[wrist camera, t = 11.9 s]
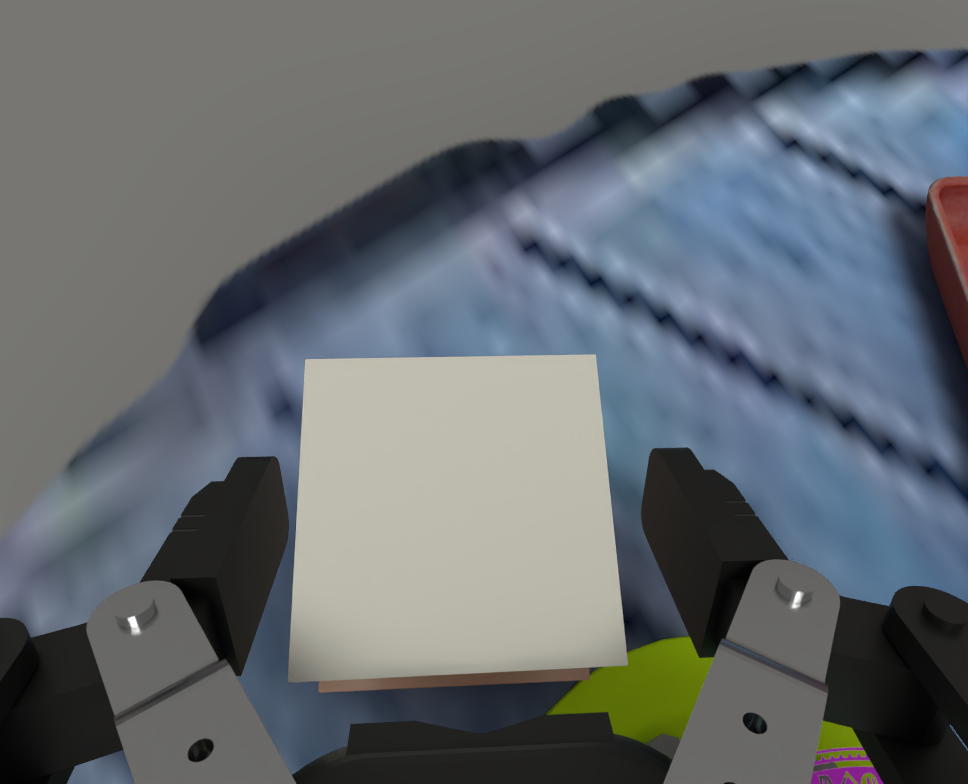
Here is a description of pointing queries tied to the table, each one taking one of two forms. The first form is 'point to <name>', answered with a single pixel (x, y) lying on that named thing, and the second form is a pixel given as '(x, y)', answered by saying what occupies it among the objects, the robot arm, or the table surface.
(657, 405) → the table surface
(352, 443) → the plain off-white block
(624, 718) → the toy cauldron
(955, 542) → the table surface
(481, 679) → the coaster
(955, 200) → the plant saucer
